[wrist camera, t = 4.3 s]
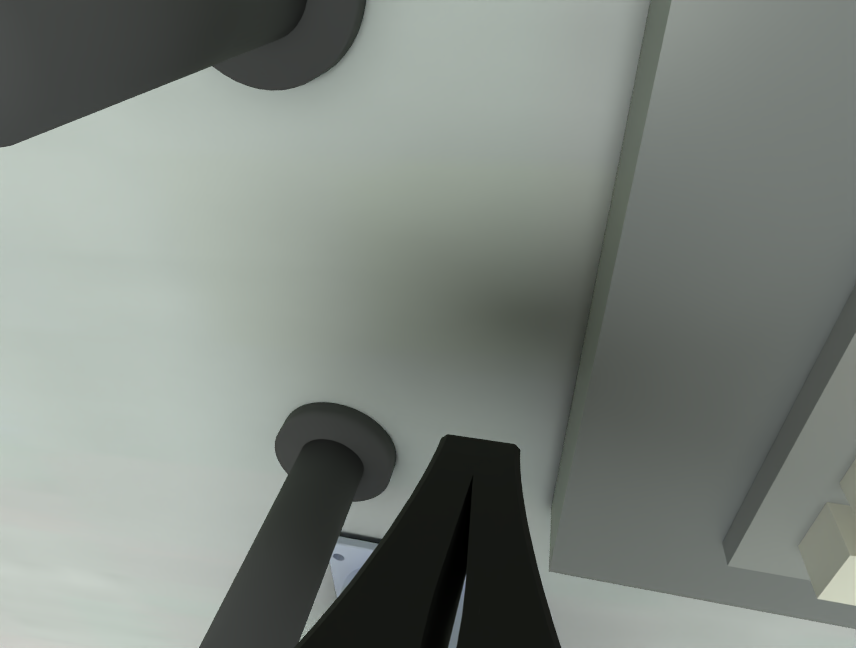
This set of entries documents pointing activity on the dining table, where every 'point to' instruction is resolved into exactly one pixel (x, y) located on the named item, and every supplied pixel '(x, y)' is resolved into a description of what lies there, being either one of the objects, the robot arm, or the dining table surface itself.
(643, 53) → the breaker panel
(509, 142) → the dining table surface
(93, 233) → the dining table surface
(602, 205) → the dining table surface
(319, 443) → the gray flanged cylinder
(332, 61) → the dark flanged peg
